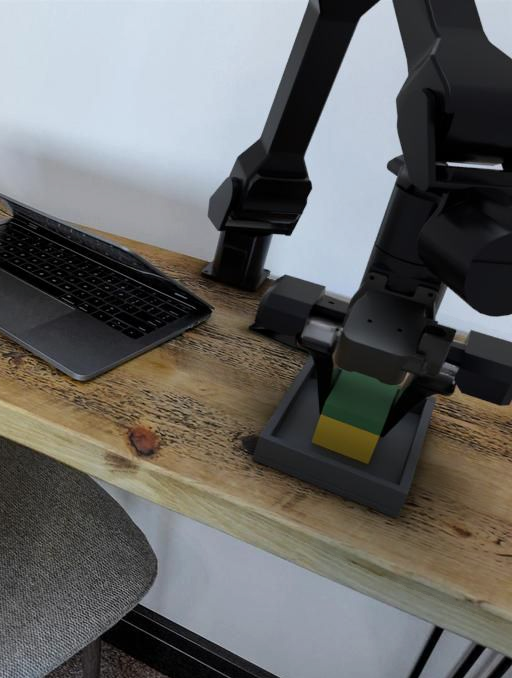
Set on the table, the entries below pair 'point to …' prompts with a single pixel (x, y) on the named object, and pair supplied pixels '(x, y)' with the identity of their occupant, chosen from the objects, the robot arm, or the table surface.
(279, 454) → the tray
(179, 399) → the table surface
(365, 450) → the sponge
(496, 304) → the robot arm
